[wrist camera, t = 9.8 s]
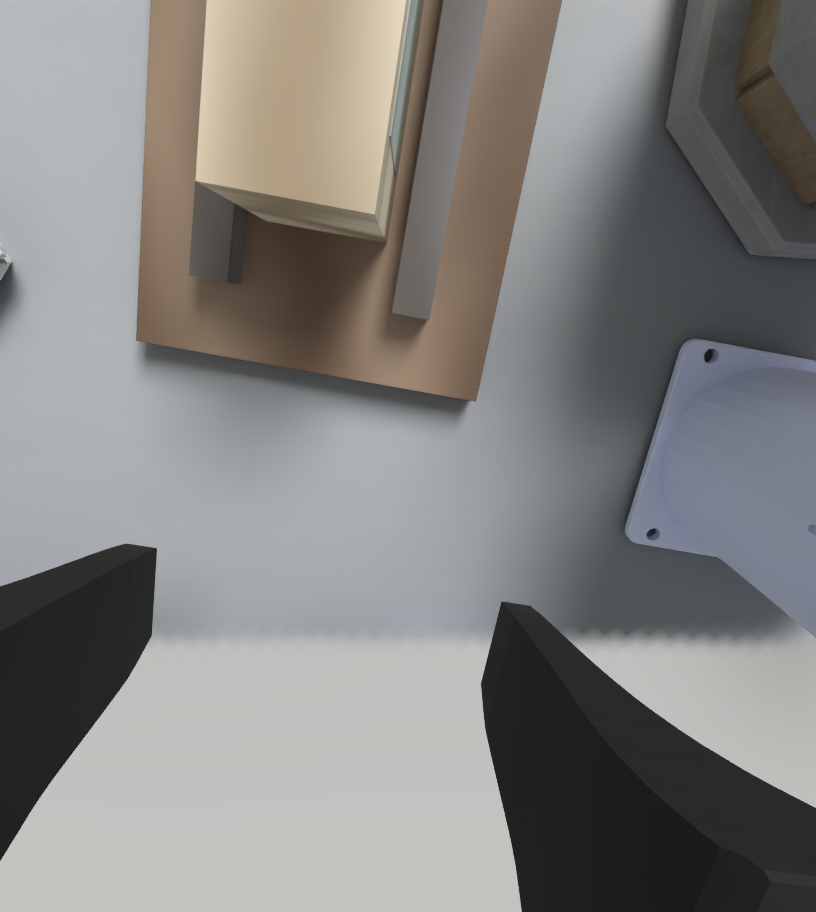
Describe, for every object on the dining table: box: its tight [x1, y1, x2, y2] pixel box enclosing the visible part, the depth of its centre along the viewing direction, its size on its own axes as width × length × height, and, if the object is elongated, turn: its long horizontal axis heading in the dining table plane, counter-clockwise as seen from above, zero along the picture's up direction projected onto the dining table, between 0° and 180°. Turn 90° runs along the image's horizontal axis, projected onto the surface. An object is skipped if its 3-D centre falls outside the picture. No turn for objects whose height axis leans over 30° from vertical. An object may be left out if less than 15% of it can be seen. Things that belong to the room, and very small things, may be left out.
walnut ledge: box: [136, 0, 562, 402], centre depth 16 cm, size 12×21×3 cm, turn 170°
